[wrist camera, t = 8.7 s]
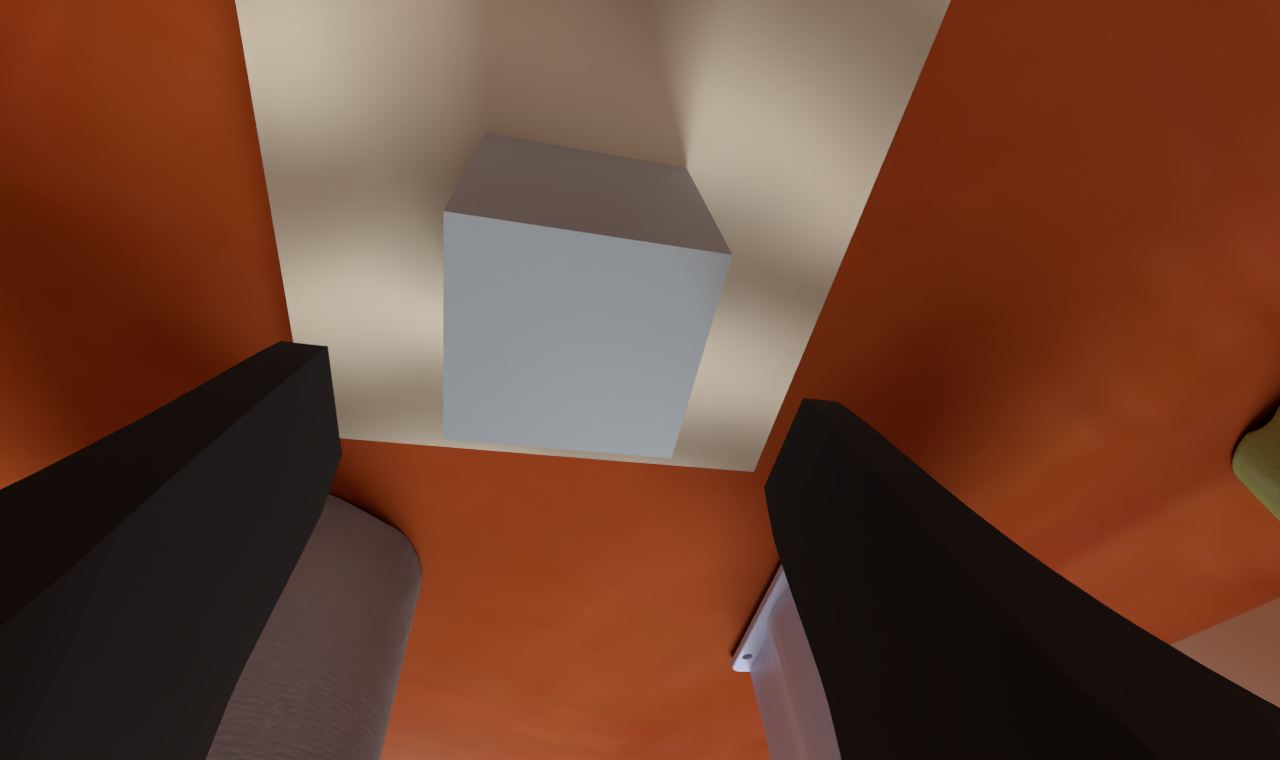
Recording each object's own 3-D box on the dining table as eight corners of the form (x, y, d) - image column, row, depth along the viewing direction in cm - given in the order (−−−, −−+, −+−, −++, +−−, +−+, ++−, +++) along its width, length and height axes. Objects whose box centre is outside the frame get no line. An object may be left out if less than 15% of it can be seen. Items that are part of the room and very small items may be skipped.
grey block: (647, 334, 16) (671, 458, 12) (478, 313, 15) (443, 439, 11) (686, 168, 14) (732, 254, 10) (485, 133, 13) (443, 211, 9)
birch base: (740, 433, 21) (753, 471, 20) (332, 395, 19) (309, 435, 17) (912, -20, 14) (958, -18, 12) (254, -190, 11) (198, -216, 9)
